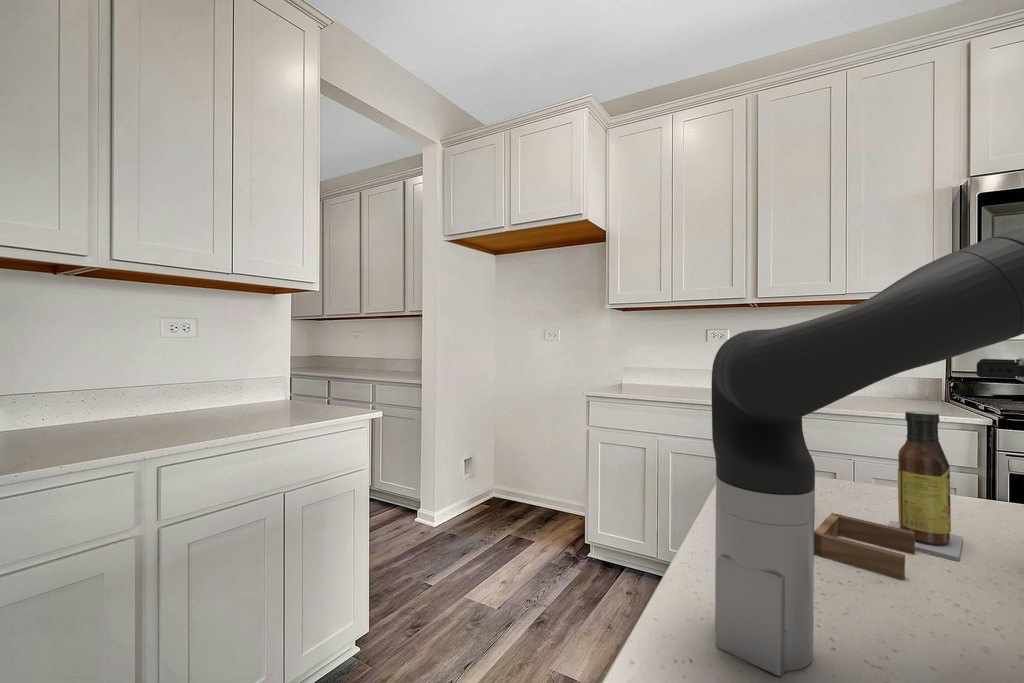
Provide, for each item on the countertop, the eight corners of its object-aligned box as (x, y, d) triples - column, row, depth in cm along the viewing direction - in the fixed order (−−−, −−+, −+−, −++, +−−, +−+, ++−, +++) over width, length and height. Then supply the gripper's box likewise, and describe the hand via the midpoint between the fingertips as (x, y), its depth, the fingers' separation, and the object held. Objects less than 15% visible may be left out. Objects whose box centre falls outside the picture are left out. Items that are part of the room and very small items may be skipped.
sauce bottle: (961, 548, 71) (963, 416, 70) (913, 544, 72) (915, 415, 72) (931, 530, 77) (933, 409, 77) (888, 527, 78) (889, 408, 78)
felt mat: (958, 561, 68) (958, 557, 68) (880, 541, 74) (880, 537, 74) (962, 540, 75) (962, 536, 75) (890, 524, 81) (890, 520, 81)
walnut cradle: (903, 580, 63) (903, 557, 63) (811, 553, 70) (812, 533, 70) (914, 551, 71) (915, 532, 71) (831, 530, 78) (831, 512, 78)
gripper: (1155, 342, 61) (979, 341, 73) (1185, 343, 51) (976, 342, 63) (1153, 399, 61) (978, 389, 73) (1183, 412, 51) (975, 397, 63)
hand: (977, 367), depth 68 cm, fingers open, 8 cm apart
